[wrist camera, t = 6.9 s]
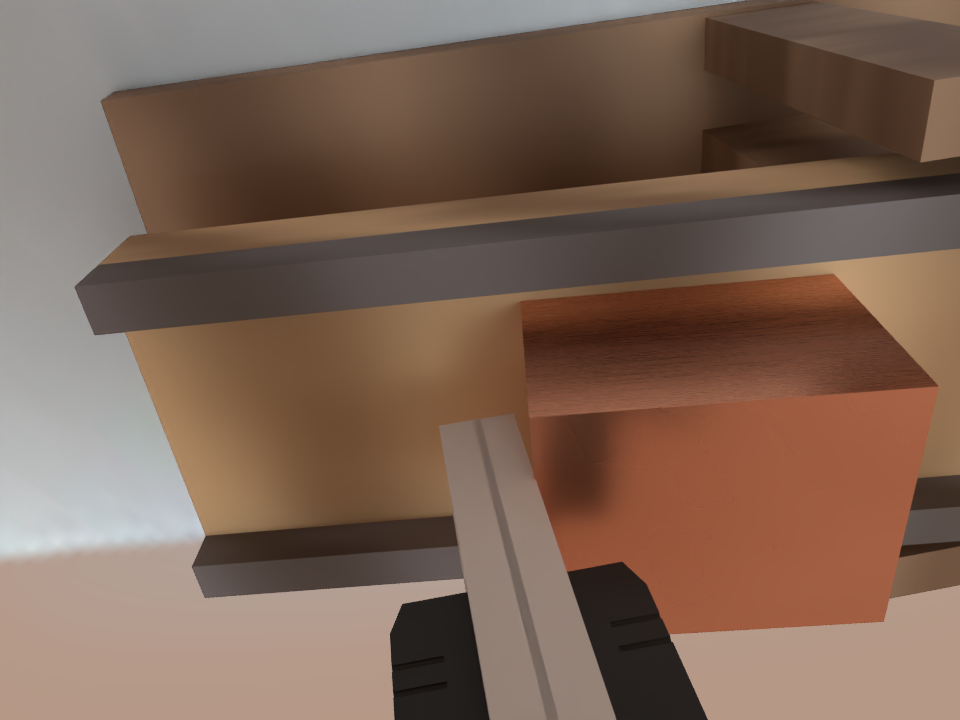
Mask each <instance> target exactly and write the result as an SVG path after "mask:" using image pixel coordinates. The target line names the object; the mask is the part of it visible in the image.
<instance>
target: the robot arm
mask: <svg viewBox="0 0 960 720" xmlns="http://www.w3.org/2000/svg"><path fill="white" fill-rule="evenodd" d="M439 429H440V435H441V442H442V448H443V454H444V461H445V467H446V473H447V480H448V486H449V492H450V498H451V505H452V511H453V517H454V524H455V530H456V536H457V542H458V548H459V554H460V560H461V566H462V571H463V577H464V583H465V589H466V593H460V594H455V595H449V596H444V597H438V598H433V599H428V600H423V601H417V602H412V603H406V604H402V606H401V609H400V611H399V613H398V616H397V618H396V621H395V623H394V626H393V628H392V631H391V633H390V642H391V662H392V671H393V672H392V680H393V694H394V698H393V699H394V716H395V720H708V719H707V717H706V715H705V712H704V710H703V708H702V706H701V704H700V701H699V699H698V697H697V695H696V693H695V690H694V688H693V686H692V684H691V681H690V679H689V677H688V675H687V673H686V670H685V668H684V666H683V664H682V661H681V659H680V658H679V655H678V653H677V650H676V648H675V646H674V644H673V642H671V639H670V635H669V633H668V630H667V628H666V626H665V624H664V622H663V619H662V618H661V617H660V613H659V610H658V608H657V606H656V604H655V602H654V599H653V597H652V595H651V593H650V591H649V588H648V586H647V584H646V583H645V582H644V581H643V580H642V579H641V578H640V577H638V576H637V575H636V574H635V573H634V572H633V571H632V570H631V569H630V568H629V567H628V566H627V565H625V564H624V563H623V562H617V563H612V564H606V565H601V566H595V567H590V568H585V569H579V570H574V571H569V572H567V571H566V568H565V565H564V562H563V559H562V556H561V553H560V550H559V547H558V544H557V541H556V538H555V535H554V532H553V529H552V526H551V523H550V520H549V517H548V514H547V511H546V508H545V505H544V502H543V499H542V496H541V493H540V491H539V488H538V485H537V482H536V480H534V473H533V470H532V467H531V464H530V461H529V458H528V455H527V452H526V449H525V446H524V443H523V440H522V437H521V434H520V431H519V428H518V425H517V422H516V419H515V416H514V413H512V414H506V415H500V416H494V417H488V418H482V419H476V420H470V421H464V422H458V423H452V424H446V425H440V426H439Z"/></svg>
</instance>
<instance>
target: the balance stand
mask: <svg viewBox="0 0 960 720" xmlns="http://www.w3.org/2000/svg"><path fill="white" fill-rule="evenodd" d="M101 104H102V106H103V109H104V112H105V115H106V118H107V121H108V123H109V126H110V129H111V132H112V135H113V138H114V140H115V143H116V146H117V149H118V152H119V155H120V157H121V160H122V163H123V166H124V169H125V172H126V174H127V177H128V180H129V183H130V186H131V188H132V191H133V194H134V197H135V200H136V203H137V205H138V208H139V211H140V214H141V217H142V220H143V222H144V225H145V228H146V231H147V234H153V233H162V232H171V231H180V230H190V229H199V228H208V227H217V226H226V225H235V224H245V223H254V222H263V221H272V220H281V219H290V218H300V217H309V216H318V215H327V214H336V213H346V212H355V211H364V210H373V209H382V208H391V207H401V206H410V205H419V204H428V203H437V202H446V201H456V200H465V199H474V198H483V197H492V196H502V195H511V194H520V193H529V192H538V191H547V190H557V189H566V188H575V187H584V186H593V185H602V184H612V183H621V182H630V181H639V180H648V179H657V178H667V177H676V176H685V175H694V174H703V173H713V172H722V171H731V170H740V169H749V168H758V167H768V166H777V165H786V164H795V163H804V162H813V161H823V160H832V159H841V158H850V157H859V156H868V155H878V154H887V153H896V152H897V153H899V154H902V155H904V156H906V157H909V158H911V159H913V160H916V161H918V162H920V163H921V162H927V161H933V160H940V159H946V158H952V157H959V156H960V0H748V1H741V2H734V3H727V4H720V5H714V6H707V7H700V8H693V9H686V10H679V11H672V12H665V13H658V14H651V15H644V16H637V17H630V18H624V19H617V20H610V21H603V22H596V23H589V24H582V25H575V26H568V27H561V28H554V29H547V30H540V31H534V32H527V33H520V34H513V35H506V36H499V37H492V38H485V39H478V40H471V41H464V42H457V43H450V44H444V45H437V46H430V47H423V48H416V49H409V50H402V51H395V52H388V53H381V54H374V55H367V56H360V57H354V58H347V59H340V60H333V61H326V62H319V63H312V64H305V65H298V66H291V67H284V68H277V69H270V70H264V71H257V72H250V73H243V74H236V75H229V76H222V77H215V78H208V79H201V80H194V81H187V82H180V83H174V84H167V85H160V86H153V87H146V88H139V89H132V90H125V91H118V92H114V93H112V94H111V95H109V96H108V97H106V98H105V99H103V100H102V101H101ZM957 585H960V541H954V542H941V543H928V544H914V545H902V546H901V550H900V555H899V559H898V563H897V567H896V572H895V576H894V580H893V584H892V589H891V593H890V597H889V599H890V598H895V597H900V596H905V595H910V594H916V593H921V592H926V591H931V590H937V589H942V588H947V587H952V586H957Z"/></svg>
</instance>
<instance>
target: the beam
mask: <svg viewBox="0 0 960 720" xmlns="http://www.w3.org/2000/svg"><path fill="white" fill-rule="evenodd" d="M827 274H835V275H836V276H837V277H838V279H839V280H840V281H841V282H842V283H843V284H844V285H845V286H846V287H847V288H848V289H849V290H850V291H851V292H852V294H853V295H854V296H855V297H856V298H857V299H858V300H859V301H860V302H861V303H862V304H863V305H864V306H865V307H866V309H867V310H868V311H869V312H870V313H871V314H872V315H873V316H874V317H875V318H876V319H877V320H878V321H879V322H880V324H881V325H882V326H883V327H884V328H885V329H886V330H887V331H888V332H889V333H890V334H891V335H892V336H893V337H894V339H895V340H896V341H897V342H898V343H899V344H900V345H901V346H902V347H903V348H904V349H905V350H906V351H907V352H908V353H909V355H910V356H911V357H912V358H913V359H914V360H915V361H916V362H917V363H918V364H919V365H920V366H921V367H922V368H923V370H924V371H925V372H926V373H927V374H928V375H929V376H930V377H931V378H932V379H933V380H934V381H935V382H936V383H937V385H938V386H939V389H938V394H937V398H936V402H935V406H934V411H933V415H932V419H931V423H930V427H929V432H928V436H927V440H926V444H925V449H924V453H923V457H922V461H921V466H920V470H919V474H918V478H917V483H916V487H915V491H914V495H913V500H912V504H911V508H910V512H909V517H908V521H907V525H906V529H905V533H904V538H903V542H902V545H914V544H928V543H941V542H954V541H960V156H959V157H952V158H946V159H940V160H933V161H927V162H921V163H920V162H918V161H916V160H913V159H911V158H909V157H906V156H904V155H902V154H899V153H897V152H896V153H887V154H878V155H868V156H859V157H850V158H841V159H832V160H823V161H813V162H804V163H795V164H786V165H777V166H768V167H758V168H749V169H740V170H731V171H722V172H713V173H703V174H694V175H685V176H676V177H667V178H657V179H648V180H639V181H630V182H621V183H612V184H602V185H593V186H584V187H575V188H566V189H557V190H547V191H538V192H529V193H520V194H511V195H502V196H492V197H483V198H474V199H465V200H456V201H446V202H437V203H428V204H419V205H410V206H401V207H391V208H382V209H373V210H364V211H355V212H346V213H336V214H327V215H318V216H309V217H300V218H290V219H281V220H272V221H263V222H254V223H245V224H235V225H226V226H217V227H208V228H199V229H190V230H180V231H171V232H162V233H153V234H144V235H135V236H130V237H128V238H127V239H126V240H125V241H124V242H123V243H122V244H121V245H120V246H119V247H118V248H116V249H115V250H114V251H113V252H112V253H111V254H110V255H109V256H108V257H107V258H105V259H104V260H103V261H102V262H101V263H100V264H99V265H98V266H97V267H96V268H95V269H93V270H92V271H91V272H90V273H89V274H88V275H87V276H86V277H85V278H84V279H83V280H81V281H80V282H79V283H78V284H77V285H76V286H75V289H76V292H77V294H78V297H79V299H80V301H81V304H82V306H83V309H84V311H85V313H86V316H87V318H88V320H89V323H90V325H91V328H92V330H93V332H94V335H102V334H112V333H122V332H125V333H126V335H127V338H128V340H129V343H130V345H131V348H132V350H133V353H134V355H135V358H136V360H137V363H138V365H139V368H140V371H141V373H142V376H143V378H144V381H145V383H146V386H147V388H148V391H149V393H150V396H151V398H152V401H153V403H154V406H155V408H156V411H157V413H158V416H159V419H160V421H161V424H162V426H163V429H164V431H165V434H166V436H167V439H168V441H169V444H170V446H171V449H172V451H173V454H174V456H175V459H176V462H177V464H178V467H179V469H180V472H181V474H182V477H183V479H184V482H185V484H186V487H187V489H188V492H189V494H190V497H191V499H192V502H193V504H194V507H195V510H196V512H197V515H198V517H199V520H200V522H201V525H202V527H203V530H204V532H205V535H206V537H205V539H204V541H203V543H202V546H201V548H200V550H199V552H198V554H197V557H196V559H195V561H194V563H193V565H192V568H193V571H194V573H195V576H196V578H197V580H198V583H199V585H200V587H201V590H202V592H203V595H204V597H205V598H210V597H223V596H237V595H250V594H263V593H276V592H289V591H303V590H315V589H316V590H317V589H330V588H343V587H355V586H370V585H382V584H396V583H409V582H423V581H436V580H449V579H463V578H464V577H463V571H462V566H461V560H460V554H459V548H458V542H457V536H456V530H455V524H454V517H453V511H452V505H451V498H450V492H449V486H448V480H447V473H446V467H445V461H444V454H443V448H442V442H441V435H440V429H439V426H440V425H446V424H452V423H458V422H464V421H470V420H476V419H482V418H488V417H494V416H500V415H506V414H512V413H514V416H515V419H516V422H517V425H518V428H519V431H520V434H521V437H522V440H523V443H524V446H525V449H526V452H527V455H528V458H529V461H530V464H531V467H532V470H533V459H532V447H531V435H530V423H529V411H528V397H527V384H526V371H525V357H524V344H523V331H522V317H521V304H520V301H525V300H537V299H548V298H560V297H571V296H583V295H595V294H606V293H618V292H630V291H641V290H653V289H664V288H676V287H688V286H699V285H711V284H723V283H734V282H746V281H757V280H769V279H781V278H792V277H804V276H815V275H827ZM533 473H534V471H533Z"/></svg>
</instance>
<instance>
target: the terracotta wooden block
mask: <svg viewBox="0 0 960 720" xmlns="http://www.w3.org/2000/svg"><path fill="white" fill-rule="evenodd" d="M520 304H521V317H522V331H523V344H524V357H525V371H526V384H527V397H528V411H529V423H530V435H531V447H532V459H533V471H534V480H536V482H537V485H538V488H539V491H540V493H541V496H542V499H543V502H544V505H545V508H546V511H547V514H548V517H549V520H550V523H551V526H552V529H553V532H554V535H555V538H556V541H557V544H558V547H559V550H560V553H561V556H562V559H563V562H564V565H565V568H566V571H567V572H569V571H574V570H579V569H585V568H590V567H595V566H601V565H606V564H612V563H617V562H623V563H624V564H625V565H627V566H628V567H629V568H630V569H631V570H632V571H633V572H634V573H635V574H636V575H637V576H638V577H640V578H641V579H642V580H643V581H644V582H645V583H646V584H647V586H648V588H649V591H650V593H651V595H652V597H653V599H654V602H655V604H656V606H657V608H658V610H659V613H660V617H661V618H662V619H663V622H664V624H665V626H666V628H667V630H668V633H669V634H682V633H698V632H716V631H733V630H750V629H765V628H766V629H767V628H784V627H801V626H818V625H835V624H852V623H869V622H884V618H885V614H886V610H887V605H888V601H889V597H890V593H891V589H892V584H893V580H894V576H895V572H896V567H897V563H898V559H899V555H900V550H901V546H902V542H903V538H904V533H905V529H906V525H907V521H908V517H909V512H910V508H911V504H912V500H913V495H914V491H915V487H916V483H917V478H918V474H919V470H920V466H921V461H922V457H923V453H924V449H925V444H926V440H927V436H928V432H929V427H930V423H931V419H932V415H933V411H934V406H935V402H936V398H937V394H938V389H939V386H938V385H937V383H936V382H935V381H934V380H933V379H932V378H931V377H930V376H929V375H928V374H927V373H926V372H925V371H924V370H923V368H922V367H921V366H920V365H919V364H918V363H917V362H916V361H915V360H914V359H913V358H912V357H911V356H910V355H909V353H908V352H907V351H906V350H905V349H904V348H903V347H902V346H901V345H900V344H899V343H898V342H897V341H896V340H895V339H894V337H893V336H892V335H891V334H890V333H889V332H888V331H887V330H886V329H885V328H884V327H883V326H882V325H881V324H880V322H879V321H878V320H877V319H876V318H875V317H874V316H873V315H872V314H871V313H870V312H869V311H868V310H867V309H866V307H865V306H864V305H863V304H862V303H861V302H860V301H859V300H858V299H857V298H856V297H855V296H854V295H853V294H852V292H851V291H850V290H849V289H848V288H847V287H846V286H845V285H844V284H843V283H842V282H841V281H840V280H839V279H838V277H837V276H836V275H835V274H827V275H815V276H804V277H792V278H781V279H769V280H757V281H746V282H734V283H723V284H711V285H699V286H688V287H676V288H664V289H653V290H641V291H630V292H618V293H606V294H595V295H583V296H571V297H560V298H548V299H537V300H525V301H520Z"/></svg>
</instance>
